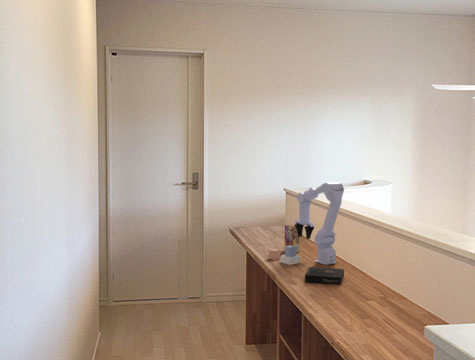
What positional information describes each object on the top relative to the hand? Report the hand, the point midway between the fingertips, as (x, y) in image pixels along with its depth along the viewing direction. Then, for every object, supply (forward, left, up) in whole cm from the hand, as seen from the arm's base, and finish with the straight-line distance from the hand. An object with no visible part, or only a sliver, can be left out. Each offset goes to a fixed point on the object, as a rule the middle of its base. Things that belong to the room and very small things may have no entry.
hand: (304, 237), depth 317 cm
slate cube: (-9, +16, -7) cm, 20 cm away
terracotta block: (+3, +18, -10) cm, 21 cm away
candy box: (+14, -2, -11) cm, 18 cm away
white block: (-9, +16, -11) cm, 21 cm away
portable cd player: (-45, +22, -11) cm, 51 cm away
